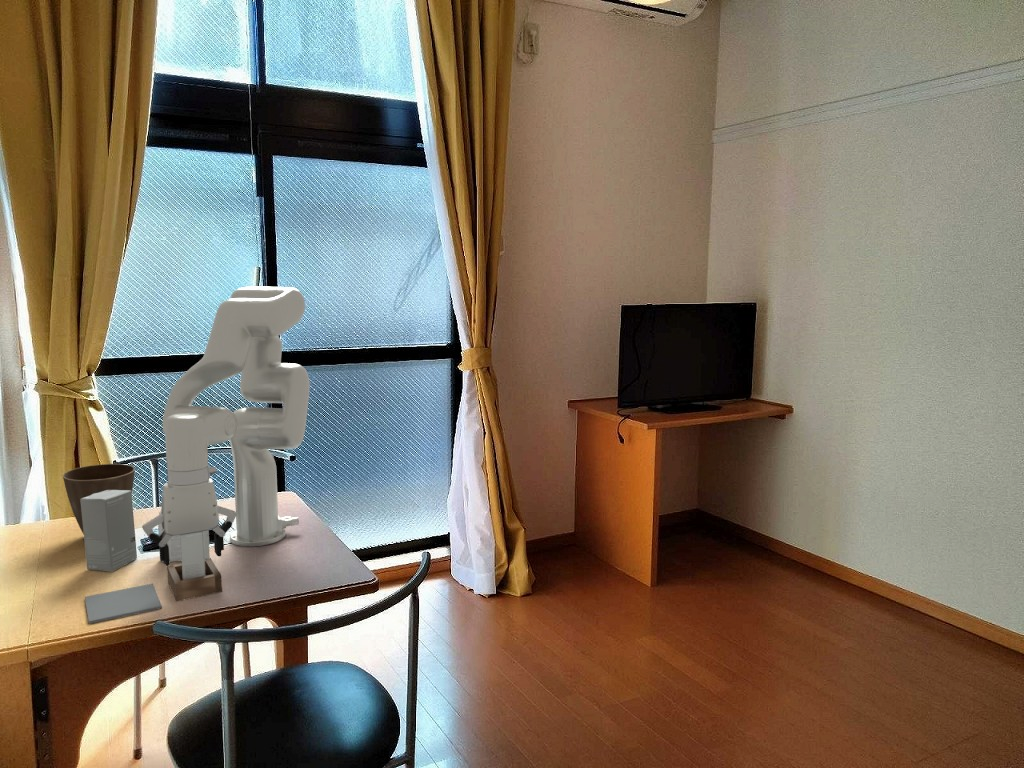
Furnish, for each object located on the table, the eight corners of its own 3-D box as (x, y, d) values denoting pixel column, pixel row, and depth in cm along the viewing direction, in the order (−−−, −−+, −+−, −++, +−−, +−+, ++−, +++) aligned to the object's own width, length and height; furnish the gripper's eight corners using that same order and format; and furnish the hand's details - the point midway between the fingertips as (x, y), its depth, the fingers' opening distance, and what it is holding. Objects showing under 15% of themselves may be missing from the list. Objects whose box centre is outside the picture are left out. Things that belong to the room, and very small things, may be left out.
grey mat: (153, 585, 150) (153, 583, 150) (161, 608, 140) (161, 605, 140) (84, 599, 143) (84, 596, 143) (89, 623, 133) (88, 621, 133)
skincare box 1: (112, 573, 156) (106, 500, 154) (82, 570, 157) (77, 498, 155) (139, 558, 164) (135, 489, 162) (111, 555, 165) (106, 486, 163)
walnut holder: (211, 573, 156) (210, 557, 155) (222, 591, 147) (221, 575, 147) (168, 582, 151) (167, 566, 151) (176, 601, 143) (175, 584, 142)
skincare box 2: (183, 583, 151) (180, 526, 150) (205, 579, 153) (202, 524, 151) (183, 594, 146) (179, 536, 144) (206, 591, 147) (203, 533, 146)
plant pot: (136, 522, 187) (132, 460, 185) (141, 540, 175) (137, 474, 172) (67, 532, 180) (62, 468, 177) (68, 552, 167) (62, 483, 165)
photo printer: (211, 553, 167) (208, 500, 165) (208, 560, 163) (205, 506, 161) (162, 556, 165) (159, 503, 163) (158, 564, 161) (154, 509, 159)
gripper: (229, 466, 154) (233, 545, 156) (137, 477, 144) (142, 561, 147) (238, 474, 147) (241, 556, 150) (142, 486, 138) (147, 574, 141)
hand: (192, 558), depth 148 cm, fingers open, 9 cm apart
